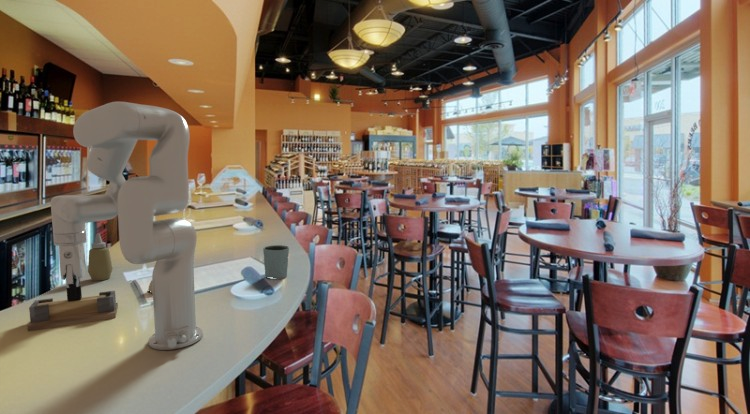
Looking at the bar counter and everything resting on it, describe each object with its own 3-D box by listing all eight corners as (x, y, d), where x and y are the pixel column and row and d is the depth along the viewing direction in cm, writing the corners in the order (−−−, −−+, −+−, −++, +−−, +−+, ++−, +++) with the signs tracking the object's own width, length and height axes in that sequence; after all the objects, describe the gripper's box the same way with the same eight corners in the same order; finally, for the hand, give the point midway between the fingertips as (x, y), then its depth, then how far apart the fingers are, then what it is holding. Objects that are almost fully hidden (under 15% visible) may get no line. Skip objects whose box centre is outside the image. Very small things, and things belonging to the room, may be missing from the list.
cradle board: (115, 317, 118) (114, 298, 118) (27, 331, 109) (26, 309, 108) (117, 307, 127) (116, 288, 126) (37, 318, 117) (35, 298, 117)
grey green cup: (263, 274, 166) (262, 245, 165) (288, 272, 169) (287, 244, 168) (264, 280, 156) (263, 250, 155) (290, 278, 159) (290, 249, 158)
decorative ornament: (159, 288, 146) (158, 274, 145) (167, 294, 140) (166, 279, 140) (147, 291, 143) (146, 276, 143) (154, 296, 137) (154, 281, 137)
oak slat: (105, 310, 120) (104, 297, 120) (37, 320, 112) (35, 306, 112) (106, 307, 123) (105, 294, 122) (39, 316, 115) (38, 303, 114)
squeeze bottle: (91, 277, 160) (87, 233, 158) (114, 275, 163) (112, 231, 161) (86, 282, 152) (82, 236, 151) (111, 280, 156) (108, 235, 154)
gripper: (82, 241, 111) (86, 305, 113) (89, 233, 124) (93, 290, 126) (47, 244, 107) (53, 310, 109) (59, 235, 120) (63, 294, 122)
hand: (74, 299), depth 117 cm, fingers closed
